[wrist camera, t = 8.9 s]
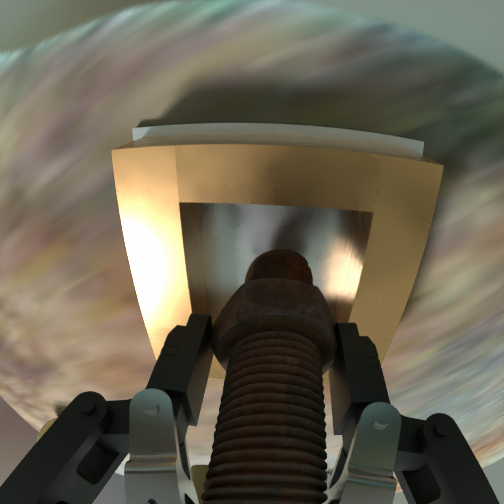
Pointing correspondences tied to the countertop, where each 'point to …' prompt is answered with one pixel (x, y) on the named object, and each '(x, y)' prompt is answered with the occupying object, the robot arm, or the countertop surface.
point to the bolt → (272, 387)
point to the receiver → (273, 217)
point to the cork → (199, 479)
